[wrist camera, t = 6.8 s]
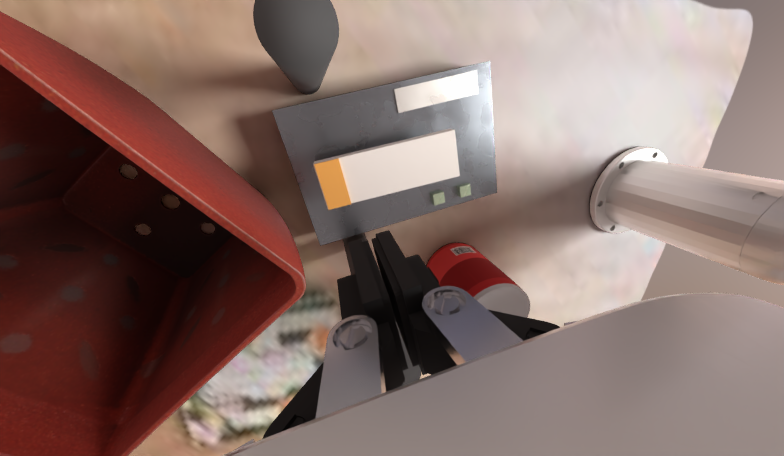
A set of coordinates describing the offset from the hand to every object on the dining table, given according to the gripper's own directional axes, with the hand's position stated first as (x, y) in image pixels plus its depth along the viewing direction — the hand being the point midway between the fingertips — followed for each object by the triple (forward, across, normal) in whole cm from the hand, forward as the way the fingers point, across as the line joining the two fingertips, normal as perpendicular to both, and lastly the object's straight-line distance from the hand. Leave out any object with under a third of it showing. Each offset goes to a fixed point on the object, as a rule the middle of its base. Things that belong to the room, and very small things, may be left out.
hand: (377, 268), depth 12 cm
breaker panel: (+22, -6, 0) cm, 22 cm away
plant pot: (+22, +16, -1) cm, 27 cm away
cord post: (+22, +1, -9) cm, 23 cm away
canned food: (+22, -11, +17) cm, 30 cm away
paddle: (+15, -4, 0) cm, 15 cm away
